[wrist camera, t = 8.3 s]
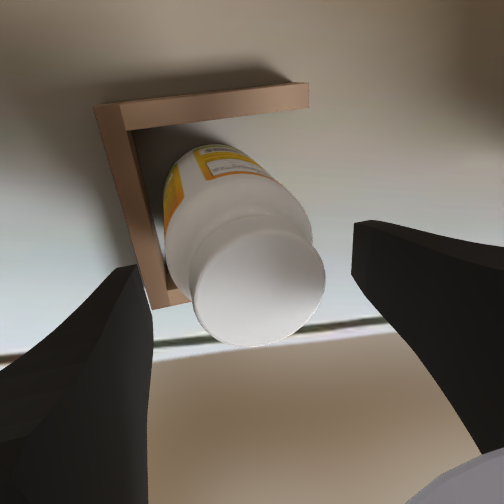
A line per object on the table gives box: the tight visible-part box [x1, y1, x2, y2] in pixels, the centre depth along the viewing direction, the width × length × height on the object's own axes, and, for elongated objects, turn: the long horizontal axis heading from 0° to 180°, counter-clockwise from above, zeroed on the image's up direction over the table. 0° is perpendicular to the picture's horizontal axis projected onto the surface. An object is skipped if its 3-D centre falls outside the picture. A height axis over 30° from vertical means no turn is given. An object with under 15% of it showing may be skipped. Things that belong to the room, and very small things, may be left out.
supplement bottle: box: [163, 144, 325, 347], centre depth 14 cm, size 5×5×10 cm
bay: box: [93, 82, 309, 310], centre depth 17 cm, size 9×10×2 cm
